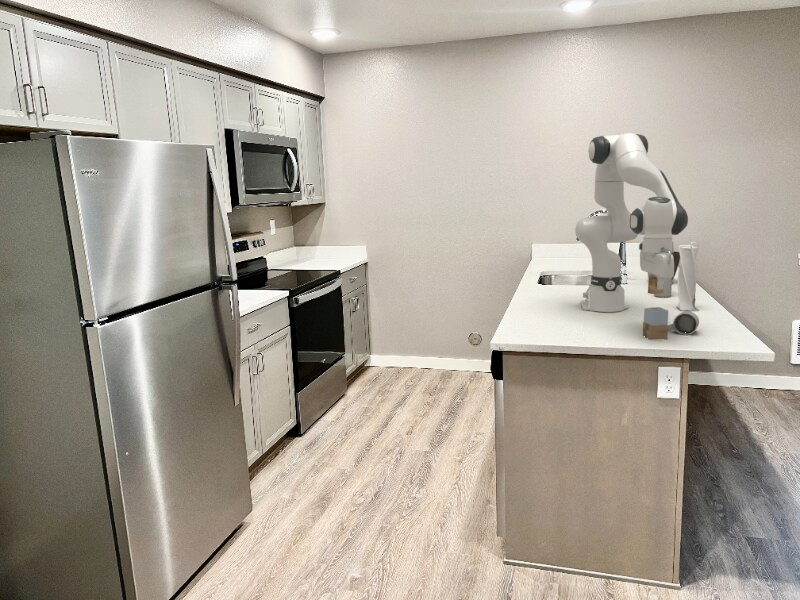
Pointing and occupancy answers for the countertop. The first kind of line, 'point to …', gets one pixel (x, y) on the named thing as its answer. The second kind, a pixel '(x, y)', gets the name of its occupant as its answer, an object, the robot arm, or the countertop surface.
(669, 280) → the water bottle
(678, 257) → the plant pot
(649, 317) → the slate upper block
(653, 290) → the oak cylinder
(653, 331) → the walnut base block
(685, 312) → the ceramic mug
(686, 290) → the skyscraper
